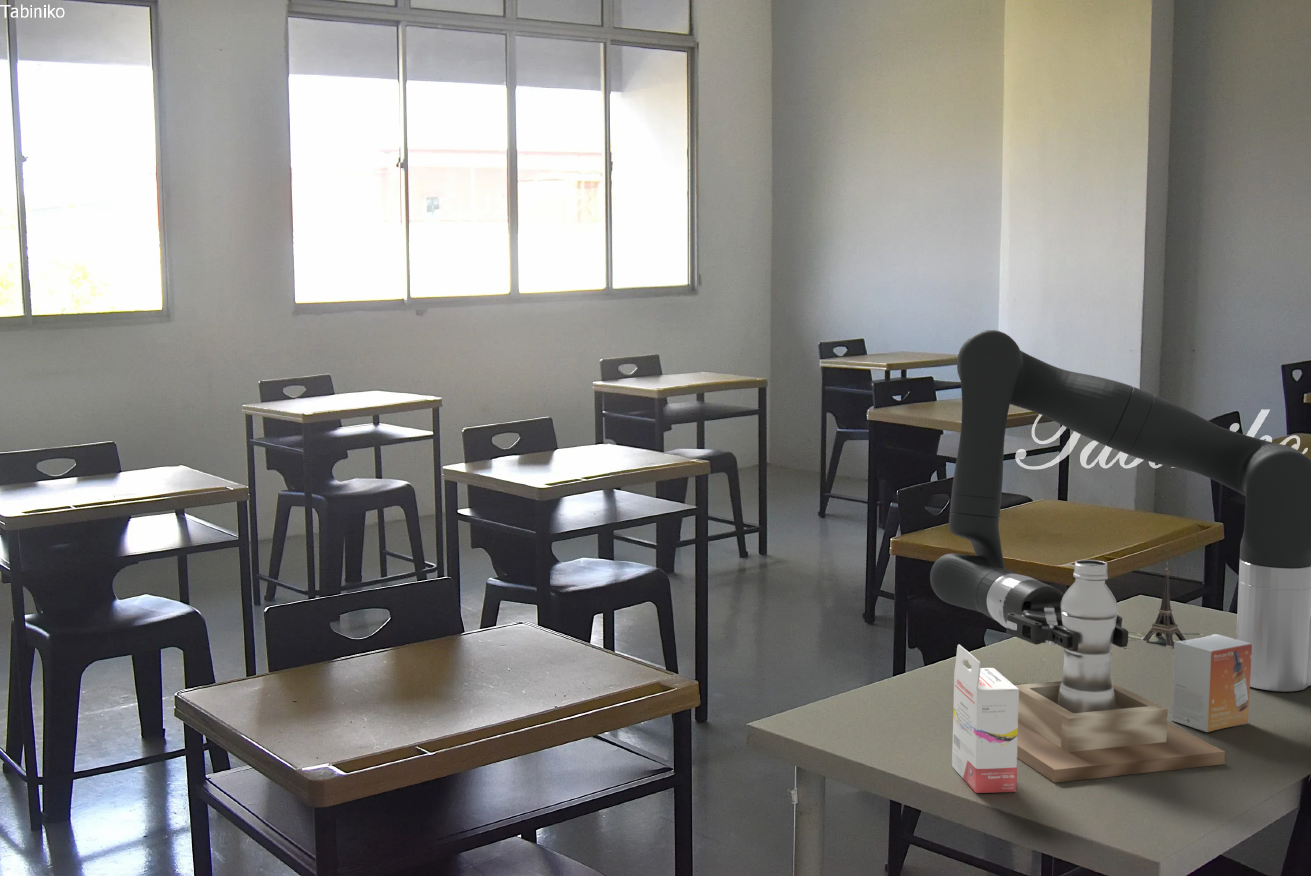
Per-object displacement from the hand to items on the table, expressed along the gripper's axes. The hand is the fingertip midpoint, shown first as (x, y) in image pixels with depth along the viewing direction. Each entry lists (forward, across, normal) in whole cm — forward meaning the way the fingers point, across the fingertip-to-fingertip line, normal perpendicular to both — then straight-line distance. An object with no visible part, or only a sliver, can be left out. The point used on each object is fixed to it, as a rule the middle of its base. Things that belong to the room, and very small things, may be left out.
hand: (1100, 640), depth 150 cm
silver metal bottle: (-2, 0, +11) cm, 11 cm away
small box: (-4, +19, +13) cm, 24 cm away
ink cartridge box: (+6, -18, +13) cm, 23 cm away
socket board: (-2, 0, +13) cm, 13 cm away
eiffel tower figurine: (-39, +37, +14) cm, 56 cm away
